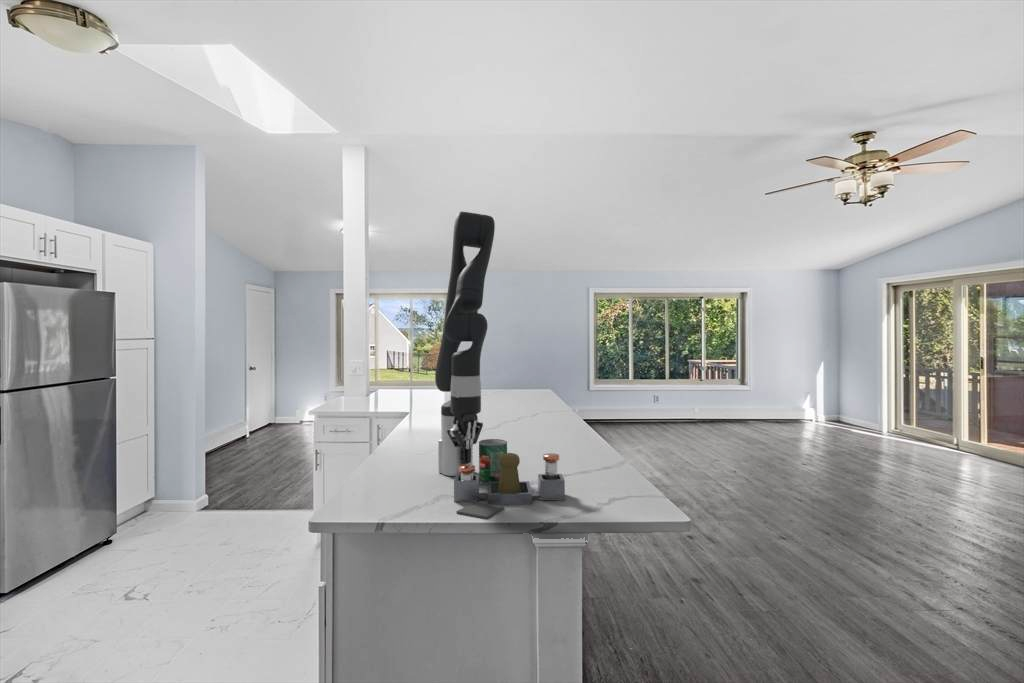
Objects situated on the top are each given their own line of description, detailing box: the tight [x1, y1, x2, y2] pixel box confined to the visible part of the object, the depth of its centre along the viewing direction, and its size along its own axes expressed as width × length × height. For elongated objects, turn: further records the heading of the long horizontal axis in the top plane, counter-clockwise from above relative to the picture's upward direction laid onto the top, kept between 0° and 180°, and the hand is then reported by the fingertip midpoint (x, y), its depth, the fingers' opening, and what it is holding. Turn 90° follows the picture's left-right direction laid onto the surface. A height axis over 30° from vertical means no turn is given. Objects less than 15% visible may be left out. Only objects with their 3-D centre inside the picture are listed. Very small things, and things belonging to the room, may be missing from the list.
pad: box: [456, 501, 505, 520], centre depth 124 cm, size 8×8×1 cm
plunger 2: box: [542, 452, 560, 480], centre depth 134 cm, size 4×4×7 cm
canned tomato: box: [478, 438, 508, 485], centre depth 149 cm, size 8×8×11 cm
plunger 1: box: [459, 464, 476, 480], centre depth 133 cm, size 4×4×7 cm
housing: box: [453, 473, 566, 505], centre depth 134 cm, size 27×11×5 cm, turn 92°
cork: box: [497, 452, 522, 493], centre depth 134 cm, size 6×6×11 cm
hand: (465, 463), depth 133 cm, fingers closed
